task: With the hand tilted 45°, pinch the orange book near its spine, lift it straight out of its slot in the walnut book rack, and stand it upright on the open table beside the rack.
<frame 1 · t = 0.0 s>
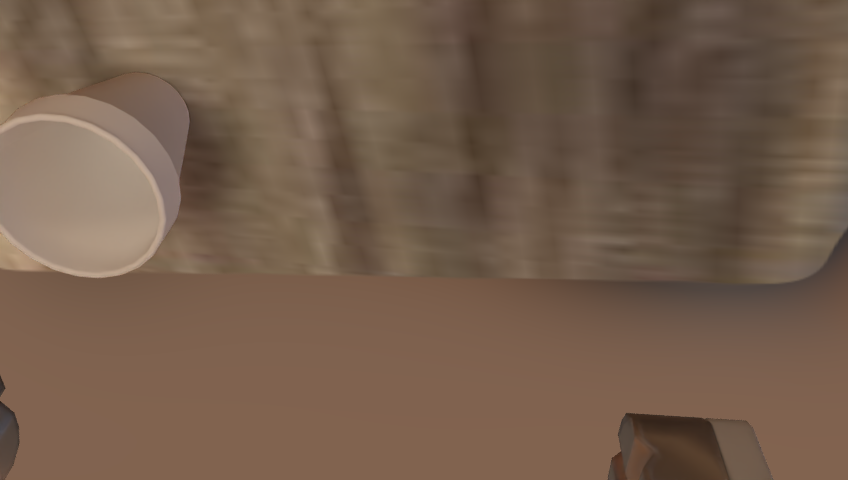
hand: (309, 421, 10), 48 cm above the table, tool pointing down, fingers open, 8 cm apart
flower pot: (147, 112, 61), on the table
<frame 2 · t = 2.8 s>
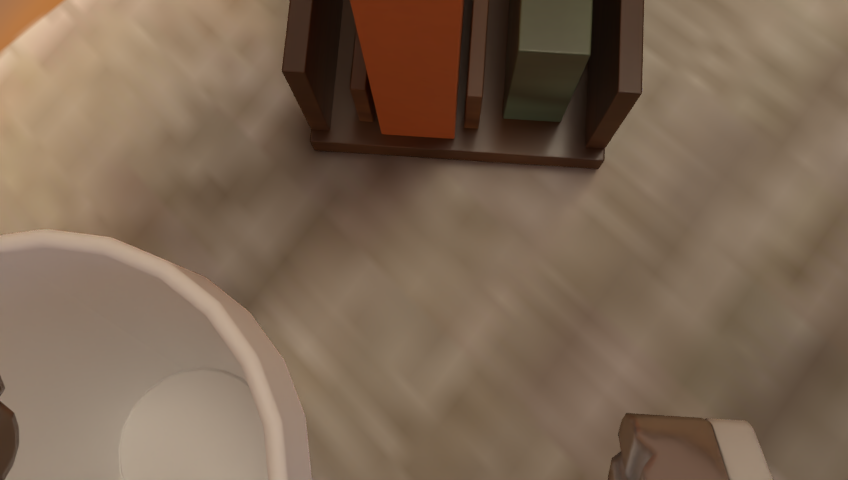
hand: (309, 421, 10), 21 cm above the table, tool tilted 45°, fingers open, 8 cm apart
rack: (464, 38, 34), on the table
book: (426, 23, 33), point 1 cm above the table, touching rack
flower pot: (202, 448, 31), on the table
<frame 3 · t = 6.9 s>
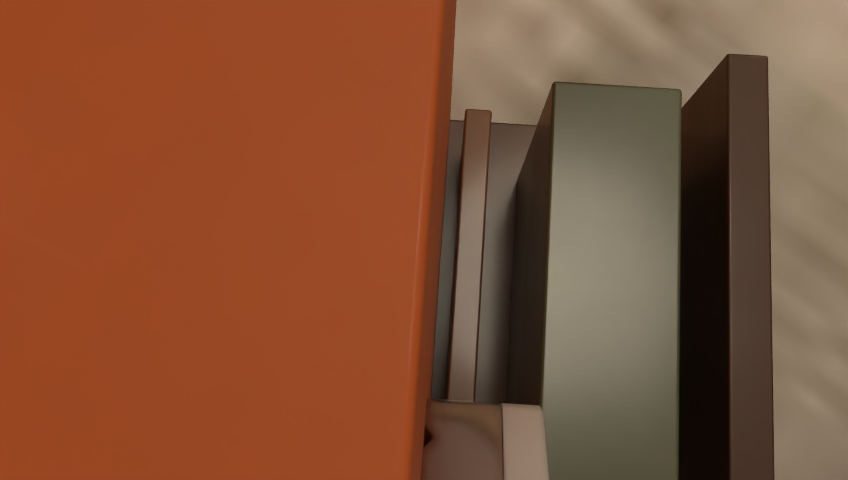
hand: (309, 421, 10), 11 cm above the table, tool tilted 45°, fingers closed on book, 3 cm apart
rack: (439, 325, 21), on the table
book: (378, 316, 20), point 1 cm above the table, touching gripper, rack
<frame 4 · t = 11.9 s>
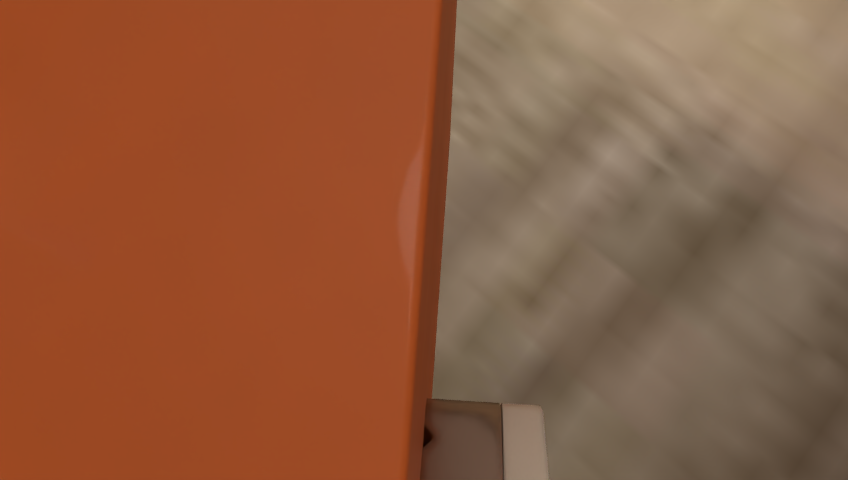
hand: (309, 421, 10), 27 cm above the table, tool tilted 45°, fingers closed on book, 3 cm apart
book: (379, 317, 20), point 17 cm above the table, touching gripper
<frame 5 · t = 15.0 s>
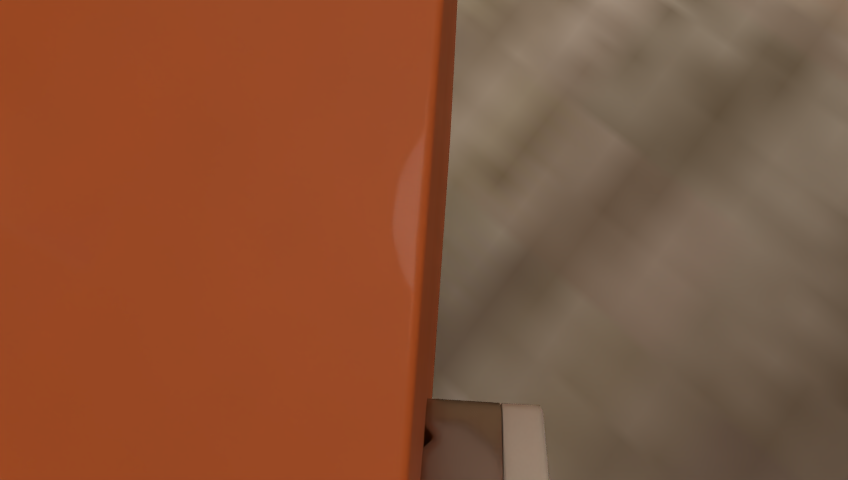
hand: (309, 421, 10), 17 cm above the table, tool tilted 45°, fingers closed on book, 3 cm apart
book: (379, 317, 20), point 7 cm above the table, touching gripper
when the fingers open (10 cm above the table, at t = 17.2 s): book stays where it is, on the table.
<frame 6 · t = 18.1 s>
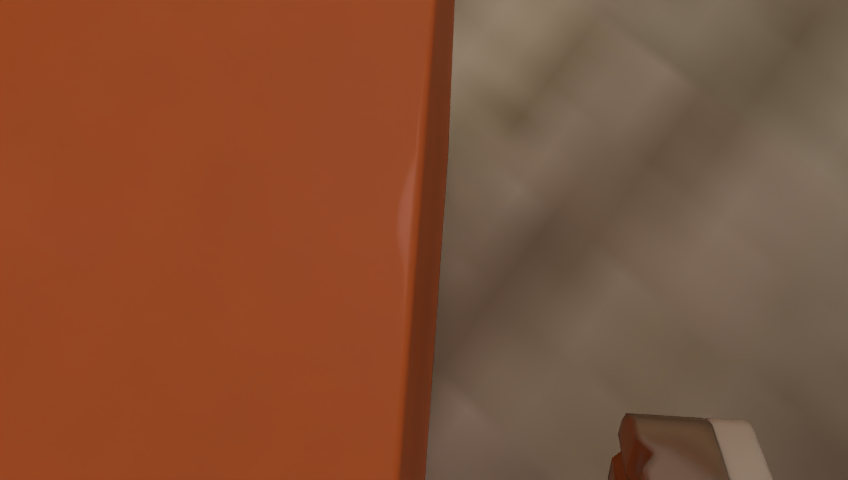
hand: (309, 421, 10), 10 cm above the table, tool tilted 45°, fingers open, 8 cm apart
book: (379, 324, 21), on the table
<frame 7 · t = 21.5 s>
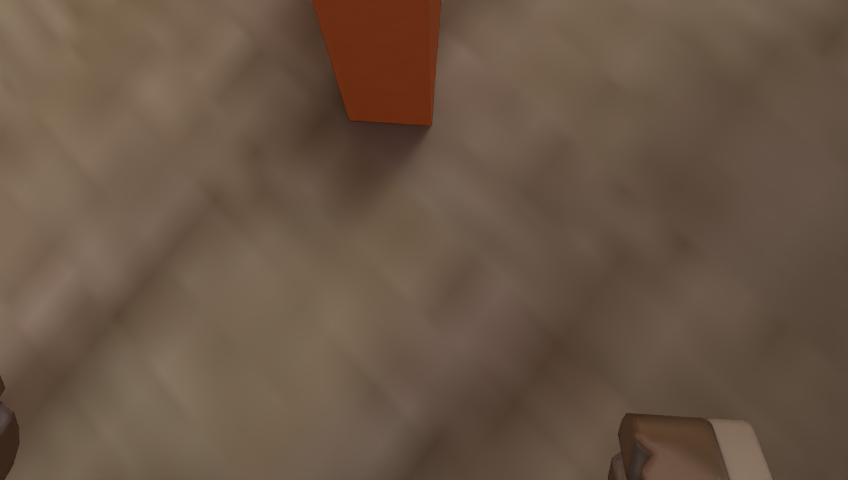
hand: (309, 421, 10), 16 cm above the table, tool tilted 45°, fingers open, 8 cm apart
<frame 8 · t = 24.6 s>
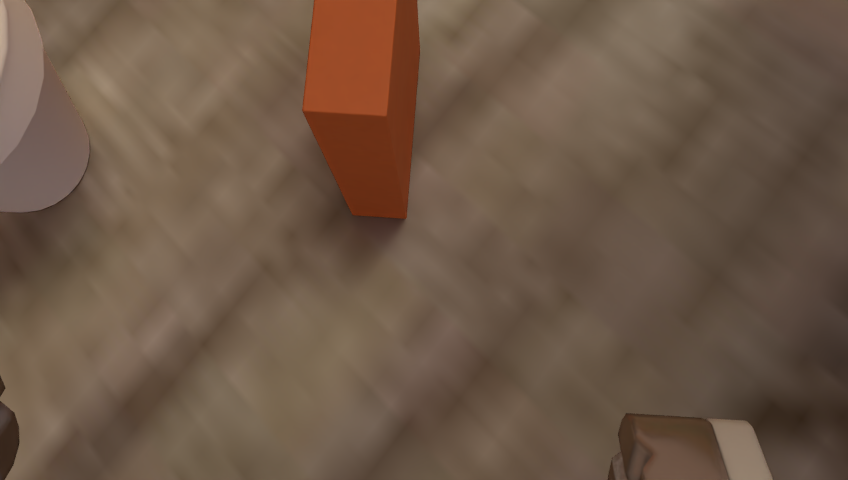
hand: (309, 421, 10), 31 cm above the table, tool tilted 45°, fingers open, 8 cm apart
book: (386, 130, 44), on the table
flower pot: (31, 154, 44), on the table
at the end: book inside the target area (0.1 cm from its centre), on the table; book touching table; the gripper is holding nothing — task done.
